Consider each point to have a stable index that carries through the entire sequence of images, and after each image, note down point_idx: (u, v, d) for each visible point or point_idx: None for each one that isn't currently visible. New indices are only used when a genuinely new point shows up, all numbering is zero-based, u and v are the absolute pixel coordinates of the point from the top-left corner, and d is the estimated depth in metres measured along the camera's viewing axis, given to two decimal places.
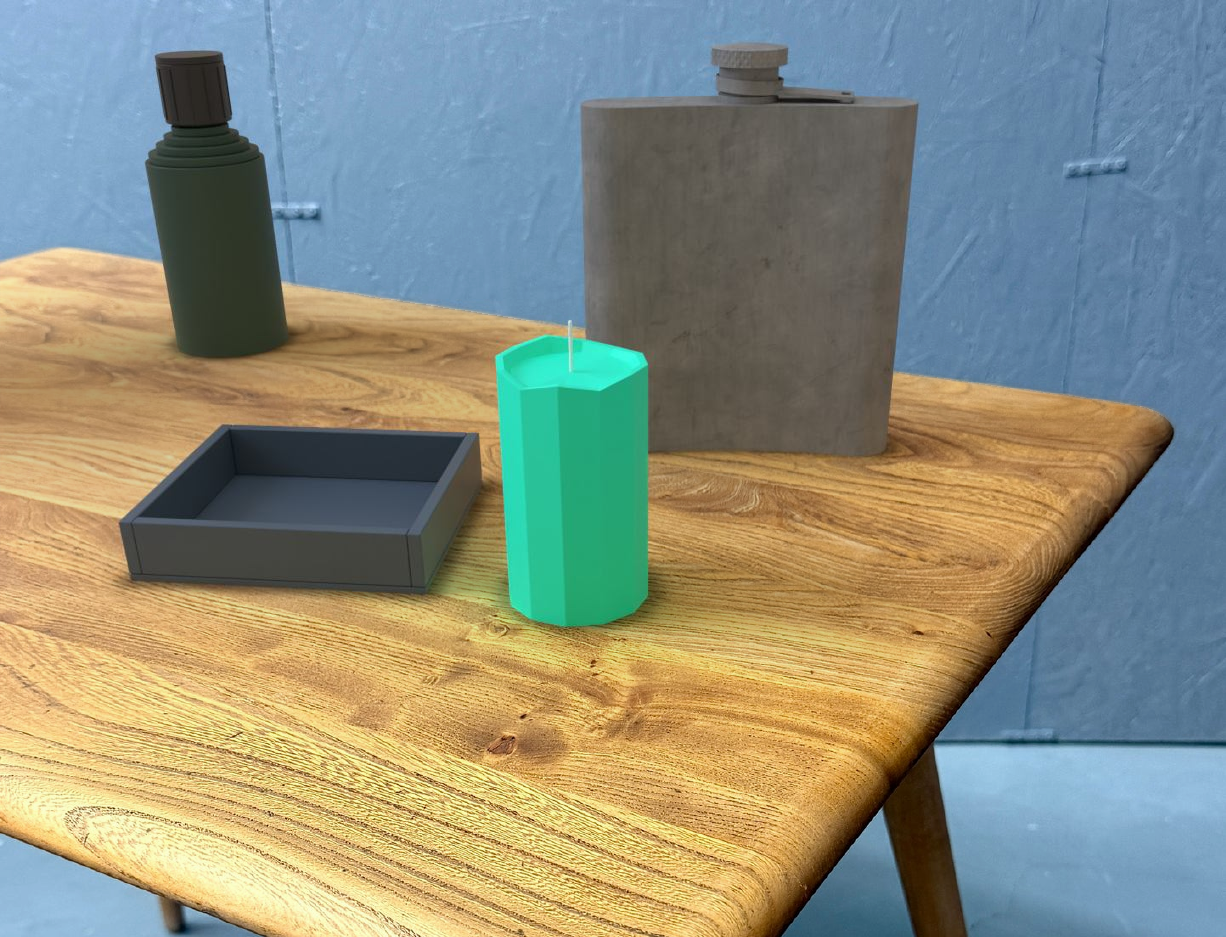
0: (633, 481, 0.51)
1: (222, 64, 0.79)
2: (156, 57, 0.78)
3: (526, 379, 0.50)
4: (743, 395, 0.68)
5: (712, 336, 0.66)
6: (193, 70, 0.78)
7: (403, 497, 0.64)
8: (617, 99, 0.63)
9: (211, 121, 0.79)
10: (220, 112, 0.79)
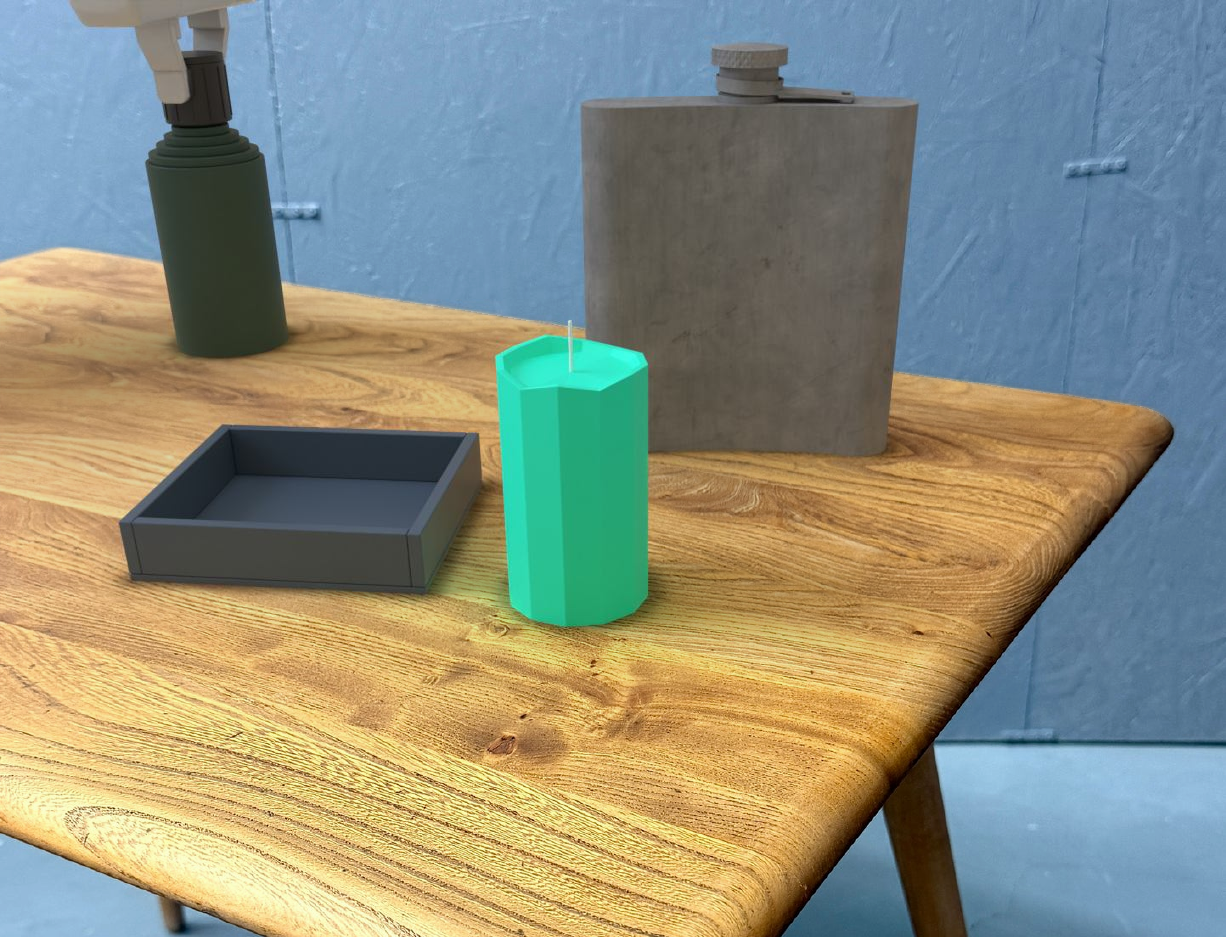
0: (633, 481, 0.51)
1: (222, 64, 0.79)
2: None
3: (526, 379, 0.50)
4: (743, 395, 0.68)
5: (712, 336, 0.66)
6: (193, 70, 0.78)
7: (403, 497, 0.64)
8: (617, 99, 0.63)
9: (211, 121, 0.79)
10: (220, 112, 0.80)
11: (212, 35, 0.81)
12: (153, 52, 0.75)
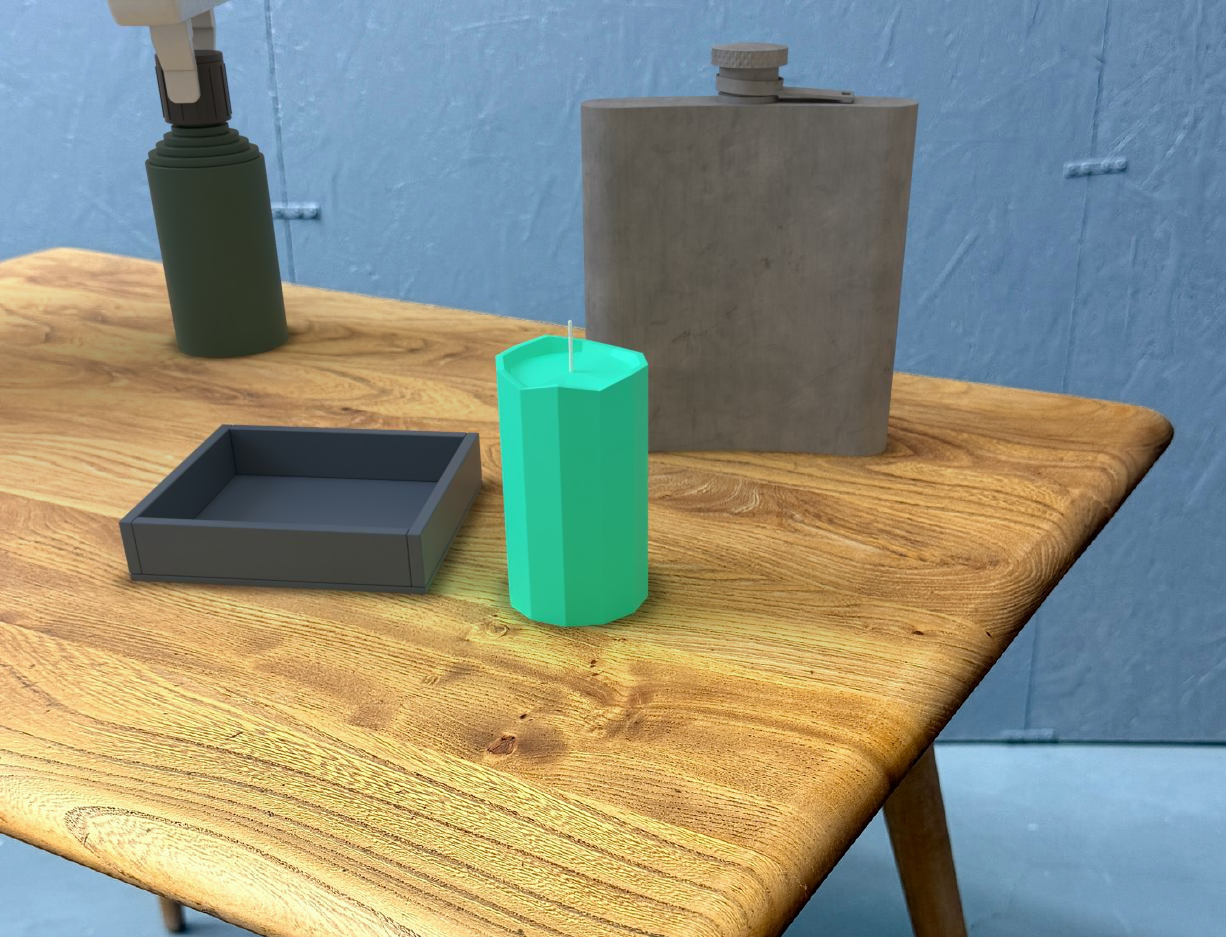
0: (633, 481, 0.51)
1: (156, 64, 0.79)
2: (217, 51, 0.80)
3: (526, 379, 0.50)
4: (743, 395, 0.68)
5: (712, 336, 0.66)
6: None
7: (403, 497, 0.64)
8: (617, 99, 0.63)
9: None
10: None
11: None
12: None
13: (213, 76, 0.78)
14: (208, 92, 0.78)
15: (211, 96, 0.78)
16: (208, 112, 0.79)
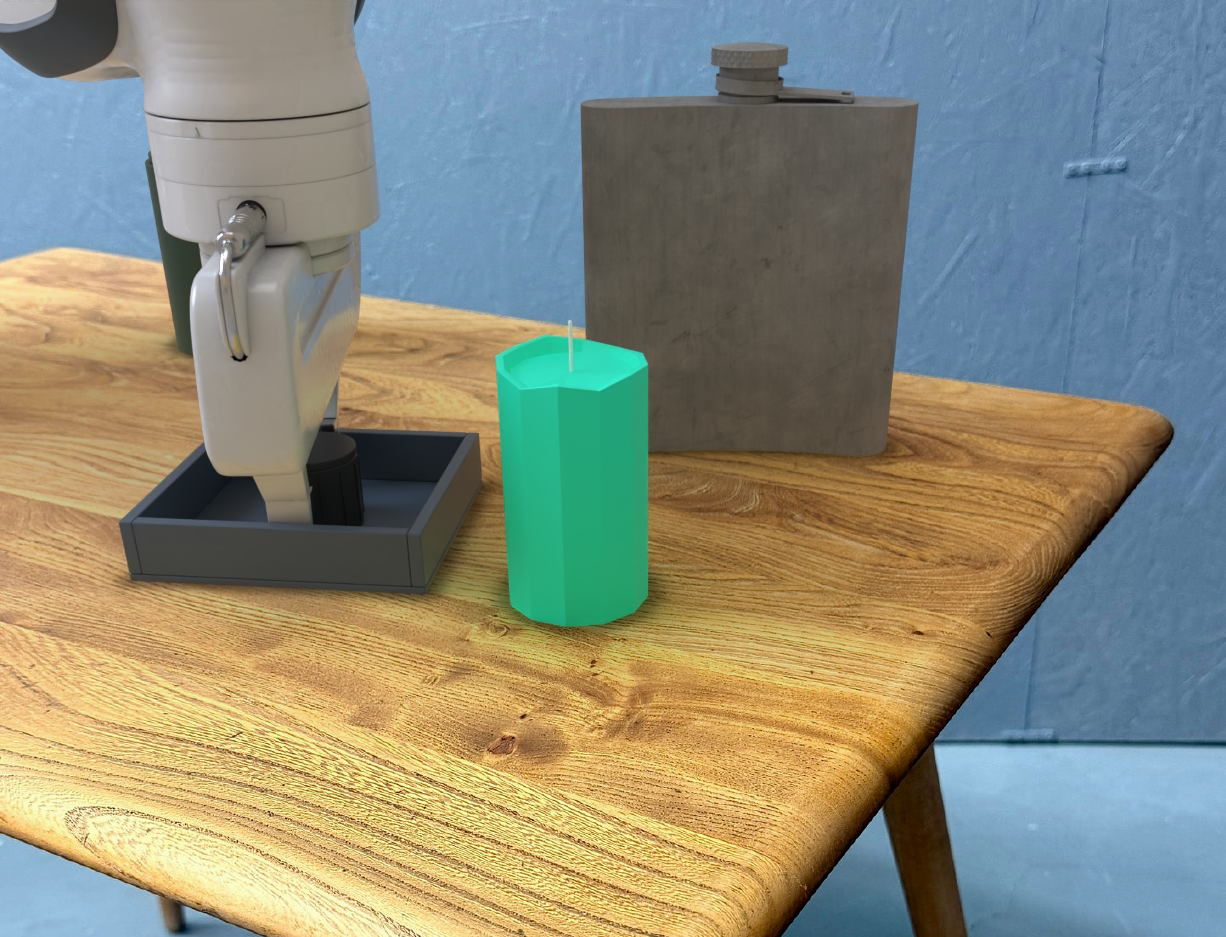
0: (633, 481, 0.51)
1: None
2: None
3: (526, 379, 0.50)
4: (743, 395, 0.68)
5: (712, 336, 0.66)
6: None
7: (403, 497, 0.64)
8: (617, 99, 0.63)
9: None
10: None
11: None
12: None
13: (344, 480, 0.59)
14: (337, 501, 0.59)
15: (341, 505, 0.59)
16: (337, 524, 0.60)
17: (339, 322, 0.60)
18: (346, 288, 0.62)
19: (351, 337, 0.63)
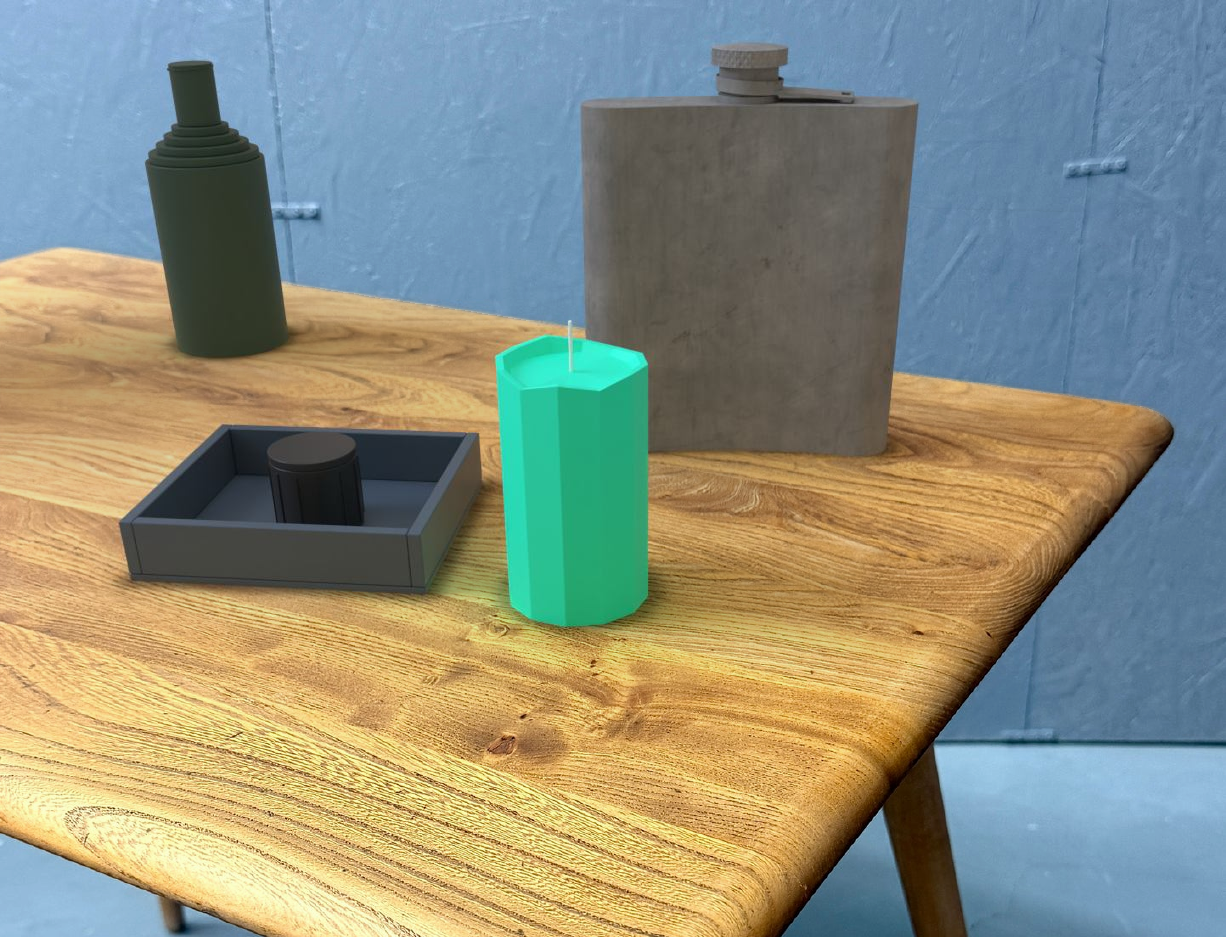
0: (633, 481, 0.51)
1: None
2: None
3: (526, 379, 0.50)
4: (743, 395, 0.68)
5: (712, 336, 0.66)
6: None
7: (403, 497, 0.64)
8: (617, 99, 0.63)
9: None
10: None
11: None
12: None
13: (344, 480, 0.59)
14: (337, 501, 0.59)
15: (341, 505, 0.59)
16: (337, 524, 0.60)
17: None
18: None
19: None
